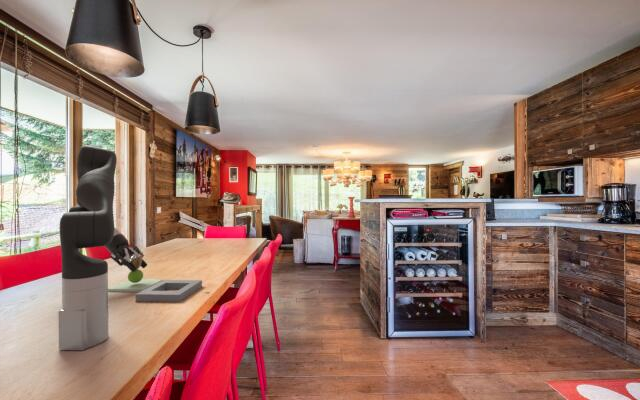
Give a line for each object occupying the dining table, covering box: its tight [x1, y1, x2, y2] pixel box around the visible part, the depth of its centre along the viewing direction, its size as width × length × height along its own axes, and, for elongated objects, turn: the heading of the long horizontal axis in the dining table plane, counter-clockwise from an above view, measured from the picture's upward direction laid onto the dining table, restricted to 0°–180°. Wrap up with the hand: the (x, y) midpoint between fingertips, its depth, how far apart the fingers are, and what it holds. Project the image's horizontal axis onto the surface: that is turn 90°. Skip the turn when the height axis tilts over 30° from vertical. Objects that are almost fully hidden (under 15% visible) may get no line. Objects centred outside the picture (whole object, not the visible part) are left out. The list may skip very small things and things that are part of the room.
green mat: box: [108, 278, 164, 293], centre depth 122 cm, size 14×14×1 cm
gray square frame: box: [134, 279, 203, 303], centre depth 114 cm, size 18×16×2 cm
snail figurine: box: [127, 251, 144, 283], centre depth 122 cm, size 5×6×12 cm
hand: (140, 268), depth 122 cm, fingers closed on snail figurine, 6 cm apart
